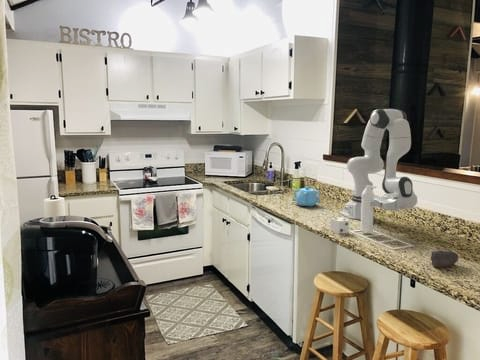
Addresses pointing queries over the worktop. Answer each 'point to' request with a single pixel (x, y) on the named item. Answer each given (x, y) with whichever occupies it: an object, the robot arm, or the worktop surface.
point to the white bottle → (367, 209)
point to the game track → (383, 241)
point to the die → (339, 225)
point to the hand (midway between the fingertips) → (367, 202)
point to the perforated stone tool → (443, 258)
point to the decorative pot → (306, 197)
